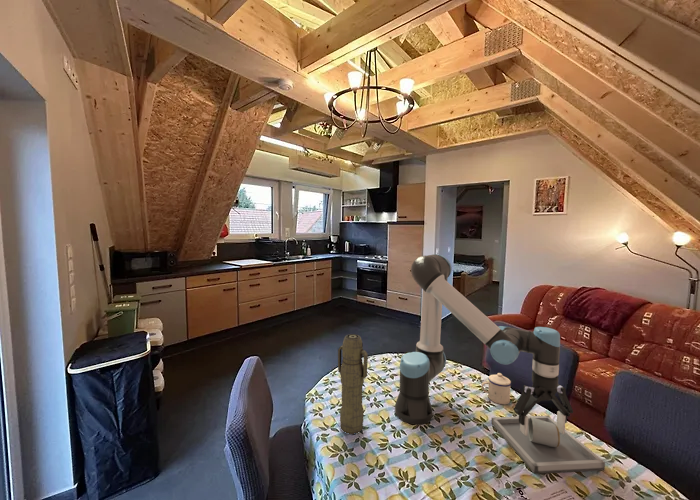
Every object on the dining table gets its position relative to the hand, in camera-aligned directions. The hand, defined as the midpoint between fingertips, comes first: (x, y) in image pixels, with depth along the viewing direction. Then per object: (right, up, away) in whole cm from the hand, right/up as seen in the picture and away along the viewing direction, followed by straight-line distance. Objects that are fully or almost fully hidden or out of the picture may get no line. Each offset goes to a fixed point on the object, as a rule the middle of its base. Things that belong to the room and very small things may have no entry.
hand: (542, 432), depth 99 cm
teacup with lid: (-2, -3, +28) cm, 28 cm away
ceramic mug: (0, -4, +1) cm, 4 cm away
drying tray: (0, -4, 0) cm, 4 cm away
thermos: (-67, -4, +8) cm, 67 cm away
